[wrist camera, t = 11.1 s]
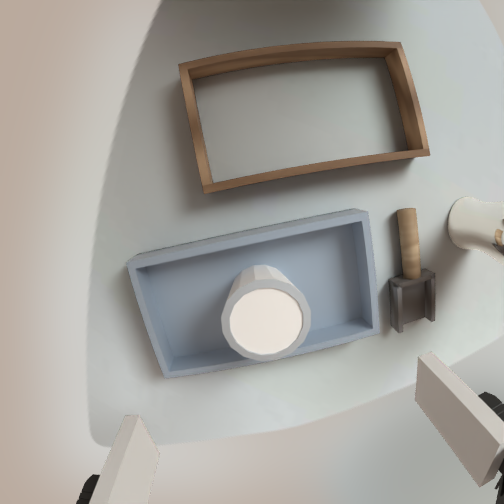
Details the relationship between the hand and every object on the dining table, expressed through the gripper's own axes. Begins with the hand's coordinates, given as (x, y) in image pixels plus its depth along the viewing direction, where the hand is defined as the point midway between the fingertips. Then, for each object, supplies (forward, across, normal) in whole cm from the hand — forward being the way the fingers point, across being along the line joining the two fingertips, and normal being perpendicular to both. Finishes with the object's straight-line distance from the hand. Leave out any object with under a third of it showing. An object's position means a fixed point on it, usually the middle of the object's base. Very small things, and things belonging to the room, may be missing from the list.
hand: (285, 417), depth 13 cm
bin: (+19, 0, 0) cm, 19 cm away
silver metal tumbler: (+19, +25, +2) cm, 31 cm away
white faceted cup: (+18, 0, 0) cm, 18 cm away
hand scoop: (+19, +16, -2) cm, 25 cm away
